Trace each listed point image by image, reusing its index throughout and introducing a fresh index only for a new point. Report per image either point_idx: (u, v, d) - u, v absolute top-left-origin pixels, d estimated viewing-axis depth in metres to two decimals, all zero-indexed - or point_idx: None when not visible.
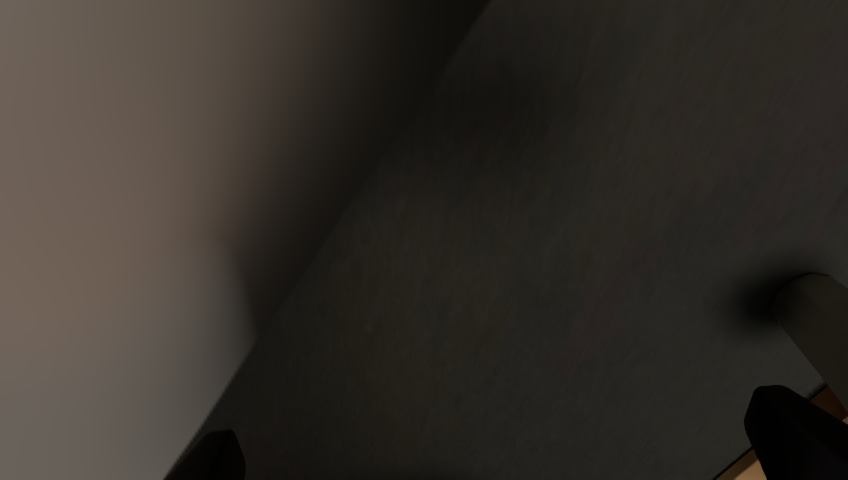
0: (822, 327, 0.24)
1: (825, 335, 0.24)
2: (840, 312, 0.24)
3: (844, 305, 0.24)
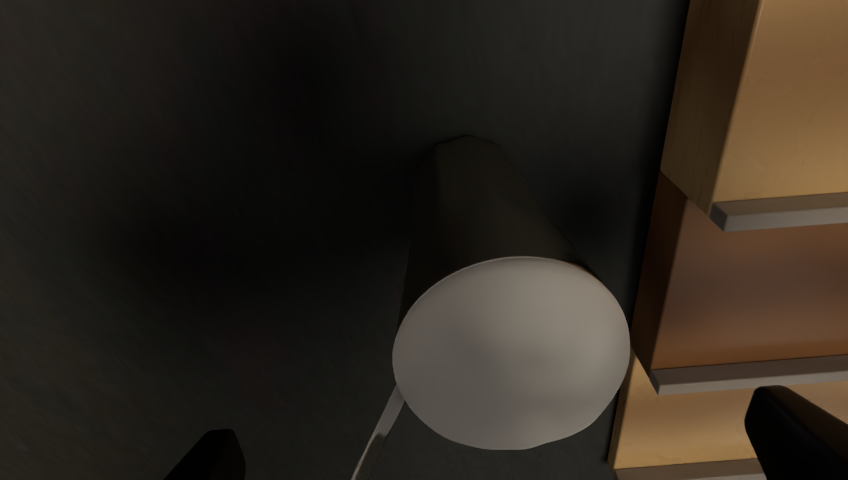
0: None
1: None
2: (422, 200, 0.14)
3: (431, 184, 0.14)
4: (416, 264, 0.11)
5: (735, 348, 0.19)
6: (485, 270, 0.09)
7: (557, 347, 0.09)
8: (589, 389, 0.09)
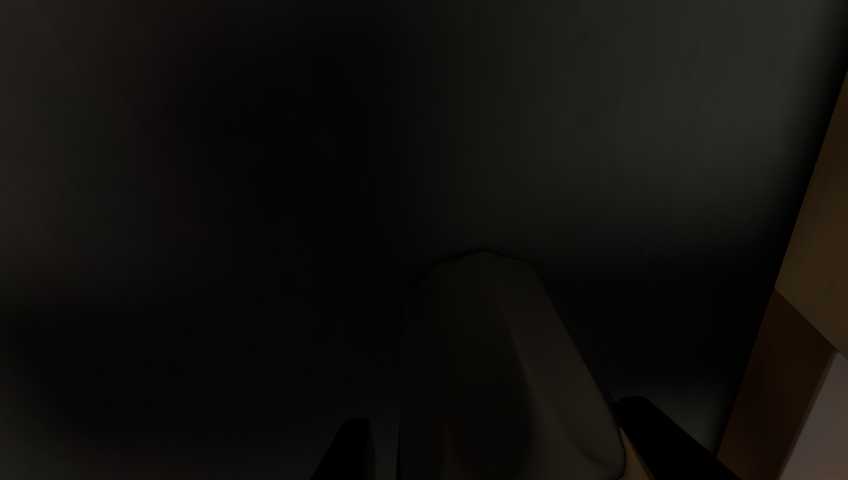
0: None
1: None
2: (416, 386, 0.09)
3: (429, 358, 0.09)
4: None
5: None
6: None
7: None
8: None
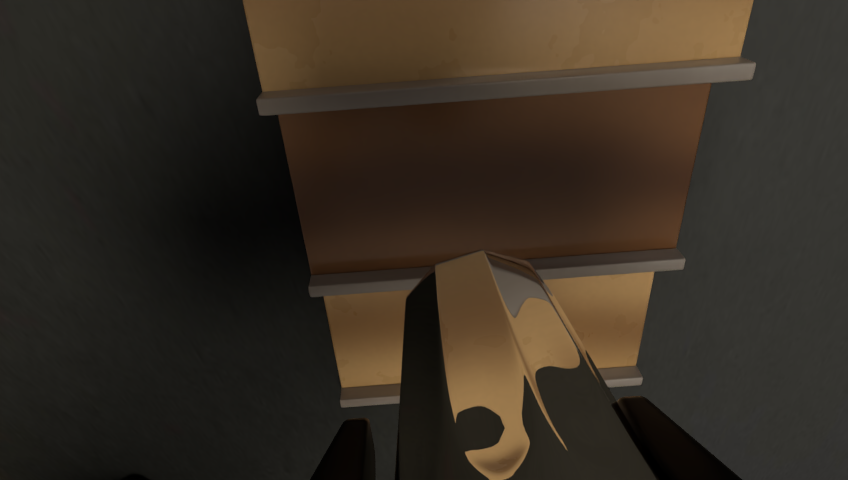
0: None
1: None
2: (415, 384, 0.09)
3: (429, 356, 0.09)
4: None
5: (384, 253, 0.20)
6: None
7: None
8: None
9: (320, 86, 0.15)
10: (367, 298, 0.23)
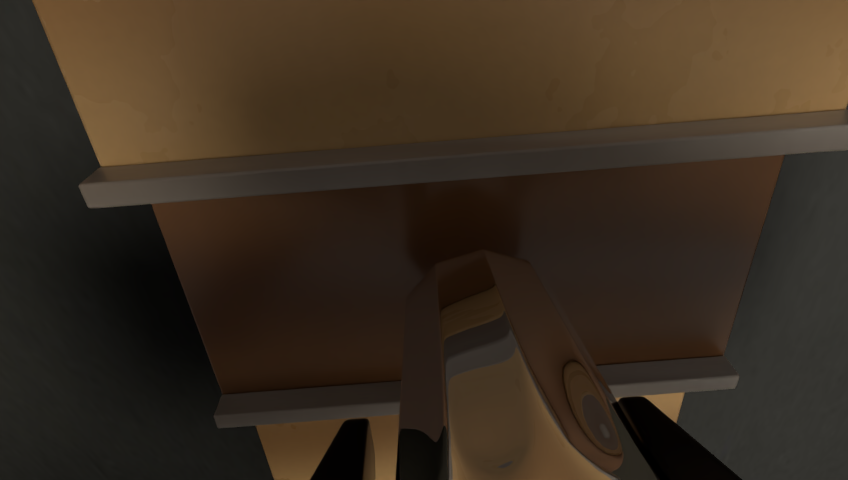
0: None
1: None
2: (415, 384, 0.09)
3: (429, 356, 0.09)
4: None
5: (320, 367, 0.14)
6: None
7: None
8: None
9: (189, 158, 0.10)
10: None
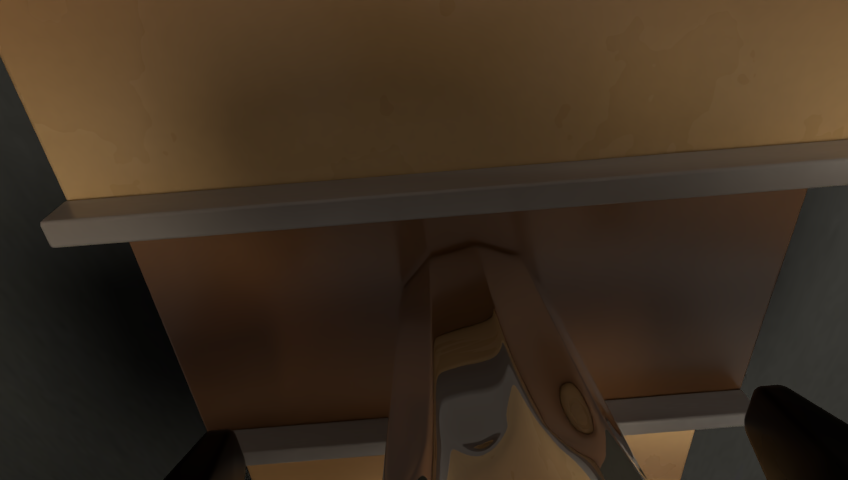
0: None
1: None
2: (406, 372, 0.09)
3: (420, 346, 0.09)
4: None
5: (312, 403, 0.13)
6: None
7: None
8: None
9: (164, 191, 0.09)
10: None
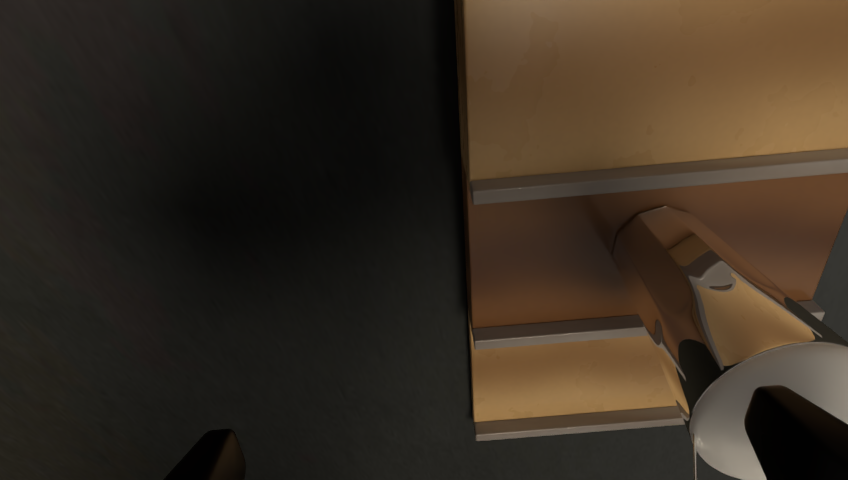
0: (640, 297, 0.17)
1: (643, 308, 0.17)
2: (652, 270, 0.17)
3: (657, 256, 0.17)
4: (695, 337, 0.14)
5: (542, 309, 0.22)
6: (792, 355, 0.12)
7: None
8: None
9: (523, 175, 0.17)
10: None
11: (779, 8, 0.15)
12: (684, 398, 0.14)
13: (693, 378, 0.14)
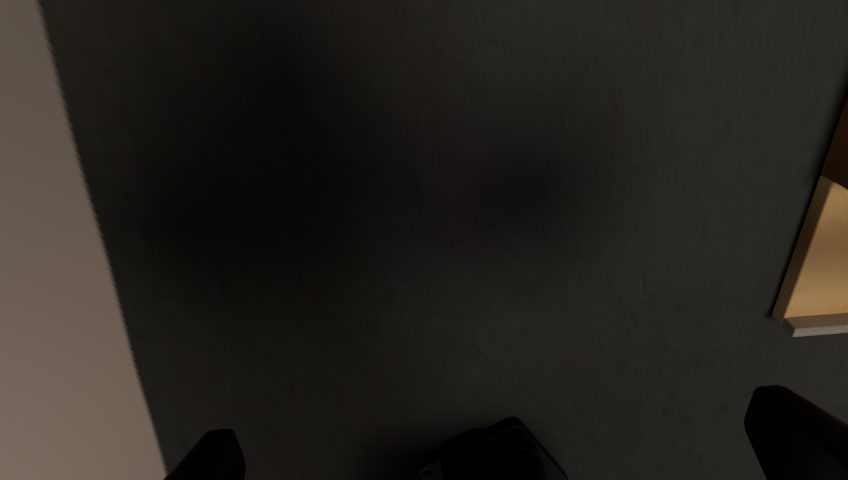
0: None
1: None
2: None
3: None
4: None
5: None
6: None
7: None
8: None
9: None
10: None
11: None
12: None
13: None
